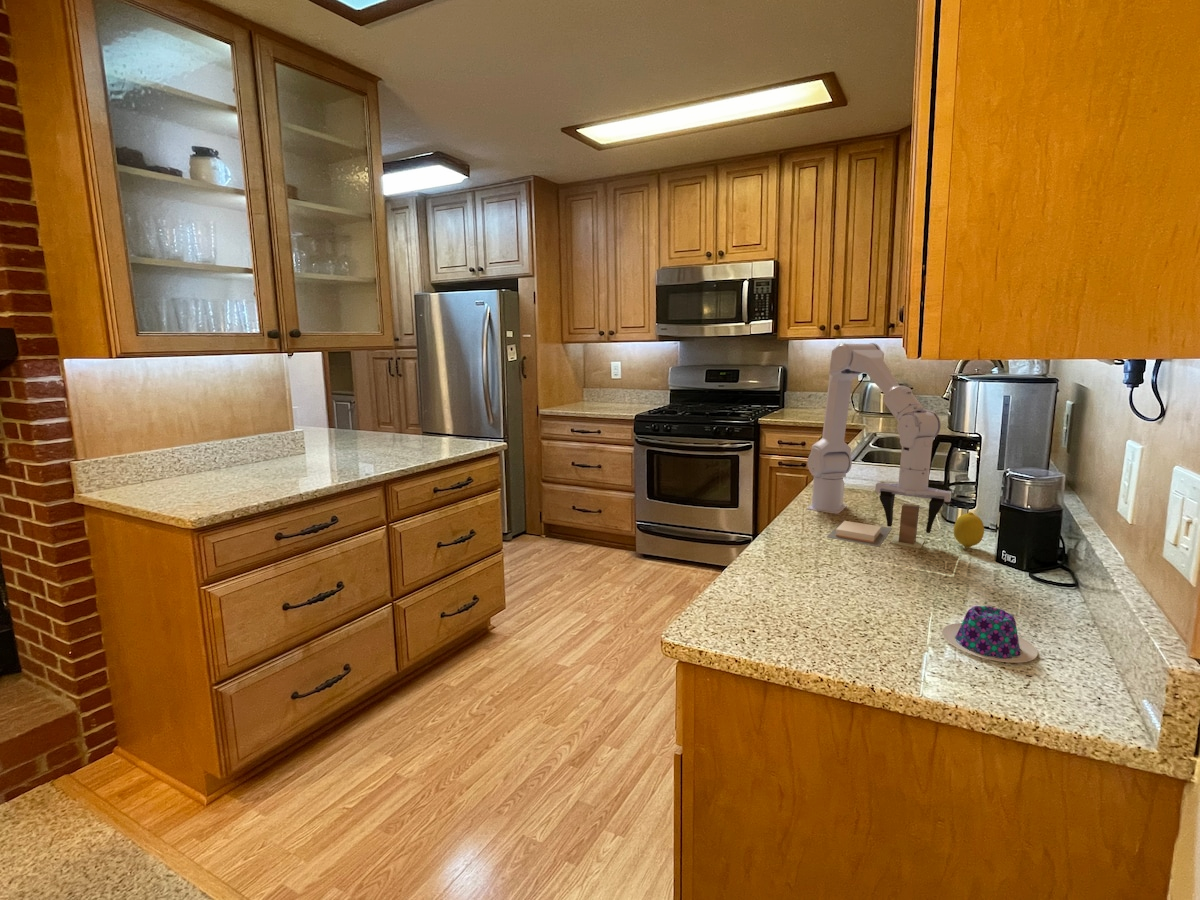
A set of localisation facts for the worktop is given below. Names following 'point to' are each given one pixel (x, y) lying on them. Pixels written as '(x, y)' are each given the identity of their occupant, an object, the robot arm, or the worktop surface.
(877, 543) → the mat
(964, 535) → the lemon
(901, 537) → the block
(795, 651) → the worktop surface
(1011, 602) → the worktop surface
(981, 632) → the purple patterned hat
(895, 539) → the board
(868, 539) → the tile
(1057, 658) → the worktop surface
